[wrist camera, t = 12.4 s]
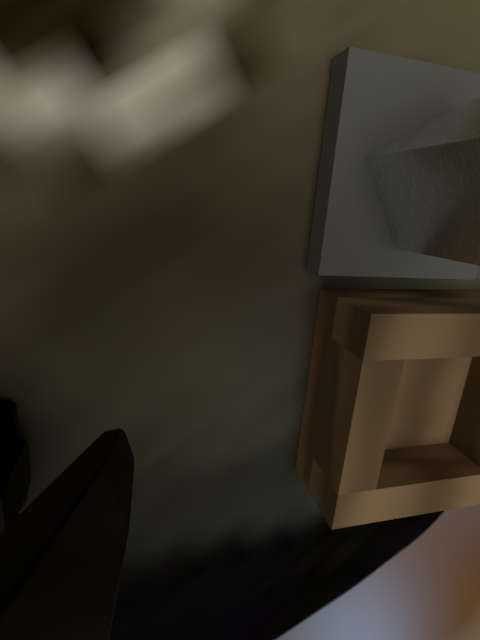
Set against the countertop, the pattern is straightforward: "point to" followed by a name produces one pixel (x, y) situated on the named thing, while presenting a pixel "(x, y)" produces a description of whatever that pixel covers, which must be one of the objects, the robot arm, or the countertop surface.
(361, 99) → the rubber pad
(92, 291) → the countertop surface
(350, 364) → the brown square tray
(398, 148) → the steel peg
